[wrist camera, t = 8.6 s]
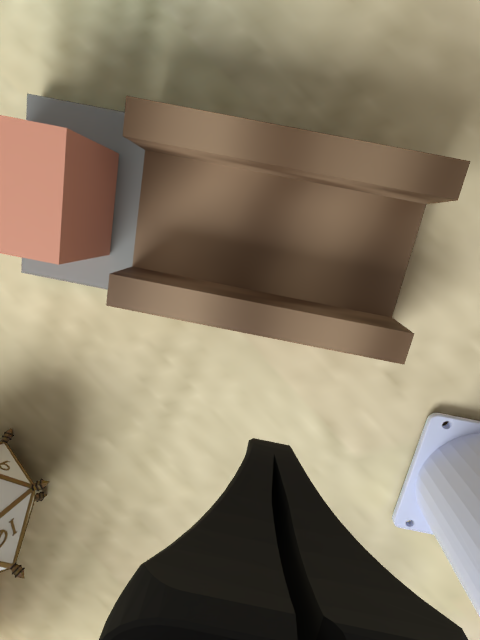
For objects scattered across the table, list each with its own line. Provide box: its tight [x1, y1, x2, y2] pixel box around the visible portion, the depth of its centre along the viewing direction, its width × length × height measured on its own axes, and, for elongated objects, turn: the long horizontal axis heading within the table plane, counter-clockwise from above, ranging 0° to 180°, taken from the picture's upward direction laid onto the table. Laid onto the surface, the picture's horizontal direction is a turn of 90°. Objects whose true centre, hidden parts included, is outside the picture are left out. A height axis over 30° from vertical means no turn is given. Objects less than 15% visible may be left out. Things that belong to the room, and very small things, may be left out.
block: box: [0, 115, 119, 265], centre depth 16 cm, size 5×5×5 cm
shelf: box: [21, 94, 145, 289], centre depth 19 cm, size 6×9×1 cm
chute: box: [106, 96, 470, 364], centre depth 18 cm, size 14×9×4 cm, turn 80°
